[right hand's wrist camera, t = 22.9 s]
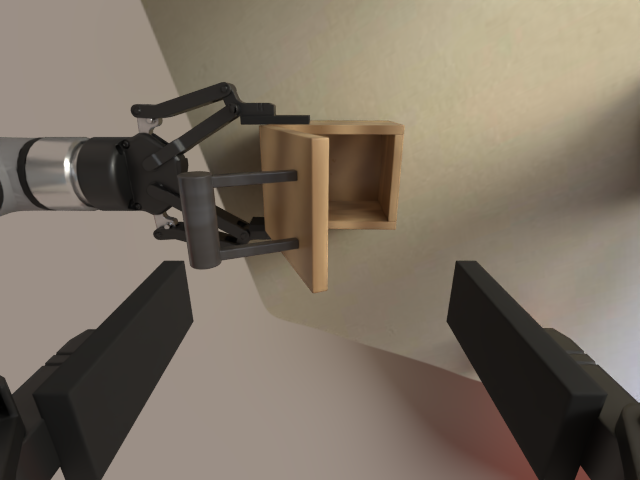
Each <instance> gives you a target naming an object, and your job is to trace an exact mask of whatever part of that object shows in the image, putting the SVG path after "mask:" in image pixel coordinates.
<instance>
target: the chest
mask: <svg viewBox="0 0 640 480" xmlns="http://www.w3.org/2000/svg"><path fill="white" fill-rule="evenodd" d="M268 125H272V126H276V127H281V128H286V129H290V130H295V131H300V132H304V133H309V134H314V135H318V136H323V137H327V138H329V184H328V229H393V230H395V229H396V219H397V207H398V196H399V184H400V172H401V161H402V149H403V137H404V127H405V126H404V125H401V124H398V123H394V122H391V121H310V123H309V124H268Z"/></svg>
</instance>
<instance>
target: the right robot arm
mask: <svg viewBox="0 0 640 480" xmlns="http://www.w3.org/2000/svg"><path fill="white" fill-rule="evenodd" d="M192 323H193V315H192V309H191V302H190V296H189V290H188V283H187V277H186V271H185V264H184V261H164V262H162V264H161V265H160V266H159V267H158V268H157V269H156V270H155V271H154V272H153V273H152V274H151V275H150V276H149V277H148V278H147V279H146V280H145V281H144V282H143V283H142V284H141V285H140V286H139V287H138V288H137V289H136V290H135V291H134V292H133V293H132V294H131V295H130V296H129V297H128V298H127V299H126V300H125V301H124V302H123V303H122V304H121V305H120V306H119V307H118V308H117V309H116V310H115V311H114V312H113V313H112V314H111V315H110V316H109V317H108V318H107V319H106V320H105V321H104V322H103V323H102V324H101V325H100V326H99V327H98V328H97V329H88V330H86V331H84V332H83V333H81V334H79V335H78V336H76V337H74V338H72V339H71V340H69V341H68V342H67V343H66V344H65V345H64V346H63V347H62V348H61V349H60V350H59V351H58V352H57V354H56V355H53V356H52V357H51V358H50V359H49V360H48V361H47V362H46V363H45V366H42V367H41V368H40V369H39V370H38V371H36V372H35V373H34V374H33V375H32V376H31V377H30V378H29V379H28V380H27V381H26V382H25V383H24V384H23V385H22V386H21V387H20V388H18V389H17V390H16V391H15V392H14V393H13V394H11V392H10V389H9V387H8V385H7V382H6V380H5V378H4V377H2V376H0V480H51V478H52V477H53V475H54V474H55V473H56V471H57V470H58V469H59V467H61V470H62V472H63V475H64V477H65V480H101V479H102V477H103V476H104V474H105V472H106V471H107V469H108V467H109V465H110V464H111V462H112V460H113V459H114V457H115V455H116V453H117V452H118V450H119V448H120V446H121V445H122V443H123V441H124V440H125V438H126V436H127V434H128V433H129V431H130V429H131V428H132V426H133V424H134V422H135V421H136V419H137V417H138V415H139V414H140V412H141V410H142V409H143V407H144V405H145V404H146V402H147V400H148V398H149V397H150V395H151V393H152V392H153V390H154V388H155V386H156V385H157V383H158V381H159V380H160V378H161V376H162V374H163V373H164V371H165V369H166V367H167V366H168V364H169V362H170V361H171V359H172V357H173V355H174V354H175V352H176V350H177V349H178V347H179V345H180V343H181V342H182V340H183V338H184V337H185V335H186V333H187V331H188V330H189V328H190V326H191V325H192ZM447 323H448V325H449V326H450V328H451V330H452V331H453V333H454V335H455V337H456V338H457V340H458V342H459V343H460V345H461V347H462V349H463V350H464V352H465V354H466V356H467V357H468V359H469V361H470V362H471V364H472V366H473V368H474V369H475V371H476V373H477V374H478V376H479V378H480V380H481V381H482V383H483V385H484V386H485V388H486V390H487V392H488V393H489V395H490V397H491V398H492V400H493V402H494V404H495V405H496V407H497V409H498V410H499V412H500V414H501V416H502V417H503V419H504V421H505V423H506V424H507V426H508V428H509V429H510V431H511V433H512V435H513V436H514V438H515V440H516V441H517V443H518V445H519V447H520V448H521V450H522V452H523V453H524V455H525V457H526V459H527V460H528V462H529V464H530V465H531V467H532V469H533V471H534V472H535V474H536V476H537V477H538V479H539V480H575V478H576V475H577V472H578V470H579V467H580V465H581V467H582V468H583V469H584V471H585V472H586V474H587V475H588V476H589V478H590V479H591V480H640V403H638V402H637V401H636V400H635V399H634V398H633V397H632V396H631V395H630V394H629V393H628V392H627V391H626V390H625V389H623V388H622V387H621V386H620V385H619V384H618V383H617V382H616V381H615V380H614V379H613V378H612V377H611V376H610V375H609V374H607V373H606V372H605V371H604V370H603V369H602V368H601V367H600V366H599V365H596V364H595V361H594V360H593V359H591V358H590V357H589V356H588V355H587V354H584V351H583V350H582V349H581V348H580V347H579V346H578V345H577V344H576V343H574V342H573V341H572V340H571V339H570V338H568V337H566V336H565V335H563V334H561V333H560V332H558V331H556V330H555V329H553V328H542V327H541V326H540V325H539V324H538V323H537V322H536V321H535V320H534V319H533V318H532V317H531V316H530V315H529V314H528V313H527V312H526V311H525V310H524V309H523V308H522V307H521V306H520V305H519V304H518V303H517V302H516V301H515V300H514V299H513V298H512V297H511V296H510V295H509V294H508V293H507V292H506V291H505V290H504V289H503V288H502V287H501V286H500V285H499V284H498V283H497V282H496V281H495V280H494V279H493V278H492V277H491V276H490V275H489V274H488V273H487V272H486V271H485V270H484V269H483V268H482V267H481V266H480V265H479V264H478V262H477V261H456V264H455V270H454V277H453V283H452V290H451V296H450V302H449V309H448V315H447Z"/></svg>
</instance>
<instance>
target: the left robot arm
mask: <svg viewBox="0 0 640 480" xmlns="http://www.w3.org/2000/svg"><path fill="white" fill-rule="evenodd" d="M221 100H224V103H225V105H226V106H225V107H224V108H223V109H221V110H220V111H218V112H217V113H215V114H214V115H212V116H211V117H209V118H208V119H206V120H205V121H203V122H202V123H200V124H199V125H197V126H196V127H194V128H193V129H191V130H190V131H188V132H187V133H185V134H184V135H182V136H181V137H179V138H178V139H176V140H174V141H172V142H171V143H168V142H166V141H165V140H163V139H162V138H160V137H159V136H157V135H156V134H154V133H153V129H154V128H155V127H157V126H160V125H161V124H162V118H167V117H172V116H176V115H179V114H182V113H185V112H188V111H191V110H194V109H197V108H200V107H203V106H206V105H209V104H212V103H215V102H218V101H221ZM131 113H132V115H133V116H134V117H137V121H138V128H139V133H138V134H137V135H135V136H133V137H93V138H87V137H45V138H7V137H0V216H2V215H5V214H8V213H11V212H16V211H33V210H65V211H95V210H102V211H146V212H148V213H150V214H153V215H154V218H155V223H156V227H157V229H156V230H155V231H154V233H153V235H154V237H155V238H156V239H158V240H168V239H177V240H181V241H184V242H187V241H186V234H185V227H184V222H178V220H177V219H176V218H174V217H170V216H168V215H167V213H166V211H167V210H168V209H170V208H171V207H172V206H173V207H174V208H176V209H178V210H180V211H182V207H181V200H180V193H179V187H178V180H177V175H178V174H181V173H185V172H188V159H187V158H185V156H184V155H183V154H184V153H186V152H187V151H189V150H190V149H192V148H193V147H194V146H195V145H197V144H198V143H200V142H202V141H203V140H205V139H206V138H208V137H209V136H211V135H212V134H214V133H215V132H217V131H218V130H220V129H221V128H223V127H224V126H226V125H227V124H229V123H230V122H232V121H233V120H235V119H236V118H238V117H240V119H241V124H309V123H310V115H276V106H275V105H274V104H271V103H244V102H242V101H241V100H240V99H239V97H238V94H237V92H236V87H235V86H234V85H233V84H230V83H226V82H222V83H219V84H216V85H213V86H210V87H207V88H204V89H201V90H198V91H195V92H192V93H189V94H186V95H183V96H180V97H178V98H175V99H172V100H169V101H166V102H163V103H160V104H157V105H151V104H136V105H133V106H132V107H131ZM215 206H216V205H215ZM216 215H217V224H218V228H219V229H221V230H223V231H225V232H226V233H223V232H220V231H218V233H219V242H220V248H222V247H229V246H236V245H243V244H248V243H249V241H250V240H253V239H271V238H270V236H269V235H268V234H267V232H266V231H265V219H264V217H253V218H252V220H251V222H250V224H249V223H247V222H246V221H244V220H242V219H240V218H238V217H236V216H234V215H232V214H231V213H229V212H227V211H225V210H223V209H221V208H219V207H218V206H216ZM227 233H228V234H227Z"/></svg>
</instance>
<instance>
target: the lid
mask: <svg viewBox="0 0 640 480" xmlns="http://www.w3.org/2000/svg"><path fill="white" fill-rule="evenodd" d="M259 134H260V151H261V168H262V171H260V172H245V173H230V174H215V175H212V173H210V172H203V171H196V172H185V173H181V174H178V175H177V180H178V187H179V193H180V200H181V207H182V214H183V220H184V227H185V234H186V241H187V247H188V254H189V261H190V266H191V267H193V268H195V269H210V268H213V267H216V266H218V265H219V264H220V263H221V261H222V260H227V259H234V258H240V257H247V256H254V255H260V254H267V253H273V252H280V251H281V252H282V254H283V255H284V256H285V257H286V259H287V260H288V261H289V263H290V264H291V265H292V267H293V268H294V269H295V271H296V272H297V273H298V275H299V276H300V277H301V279H302V280H303V281H304V282H305V284H306V285H307V286H308V288H309V289H310V290H311V292H312V293H317V292H322V291H327V275H328V184H329V138H327V137H323V136H318V135H314V134H309V133H304V132H300V131H295V130H290V129H286V128H281V127H276V126H272V125H260V126H259ZM253 184H262V185H263V202H264V219H265V231H266V232H267V234H268V235H269V236H270V238H271V239H272V241H265V242H258V243H250V244H243V245H236V246H229V247H222V248H220V242H219V233H218V224H217V215H216V206H215V197H214V188H216V187H228V186H241V185H253Z"/></svg>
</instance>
